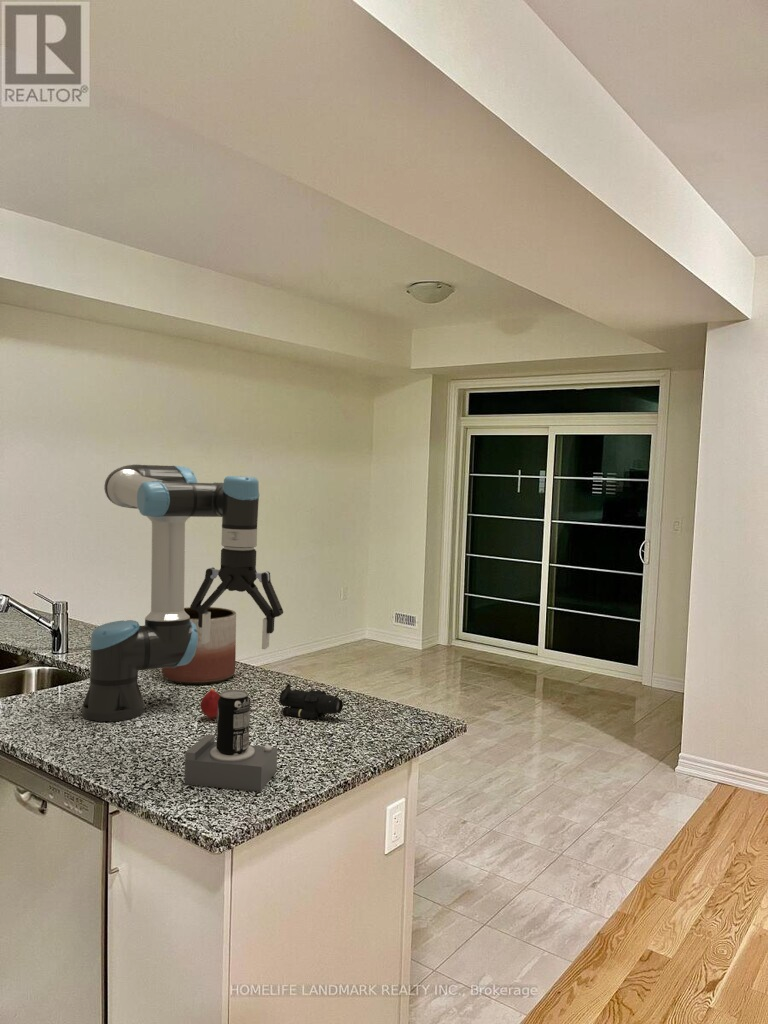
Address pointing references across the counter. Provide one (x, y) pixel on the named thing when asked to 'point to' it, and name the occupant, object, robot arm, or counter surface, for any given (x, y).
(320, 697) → the night vision scope
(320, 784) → the counter surface
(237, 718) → the beverage can
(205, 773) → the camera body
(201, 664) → the planter
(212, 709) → the onion
